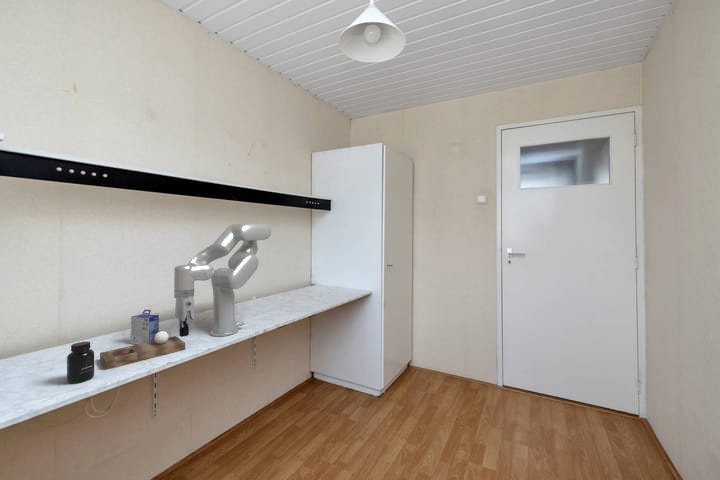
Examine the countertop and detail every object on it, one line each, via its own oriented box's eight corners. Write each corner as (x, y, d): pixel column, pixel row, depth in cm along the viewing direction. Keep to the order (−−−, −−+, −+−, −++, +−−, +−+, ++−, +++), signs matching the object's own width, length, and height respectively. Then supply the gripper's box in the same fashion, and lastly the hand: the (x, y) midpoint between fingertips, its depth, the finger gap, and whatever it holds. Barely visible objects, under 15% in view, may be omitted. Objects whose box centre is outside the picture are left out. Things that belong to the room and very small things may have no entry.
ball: (166, 340, 133) (166, 328, 133) (170, 343, 129) (170, 331, 129) (152, 343, 129) (152, 331, 129) (156, 346, 126) (156, 334, 126)
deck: (175, 342, 139) (175, 336, 138) (185, 349, 130) (185, 342, 130) (100, 360, 119) (99, 352, 119) (106, 369, 111) (106, 361, 111)
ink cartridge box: (159, 341, 140) (159, 309, 140) (149, 345, 135) (148, 312, 135) (141, 340, 142) (141, 308, 142) (130, 344, 137) (129, 311, 137)
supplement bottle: (87, 382, 102) (87, 346, 101) (62, 385, 100) (61, 348, 99) (98, 373, 108) (98, 339, 108) (74, 376, 106) (74, 341, 106)
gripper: (200, 294, 133) (200, 337, 133) (187, 290, 143) (187, 330, 143) (180, 297, 128) (180, 341, 128) (168, 292, 138) (168, 334, 138)
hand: (184, 335), depth 135 cm, fingers closed
